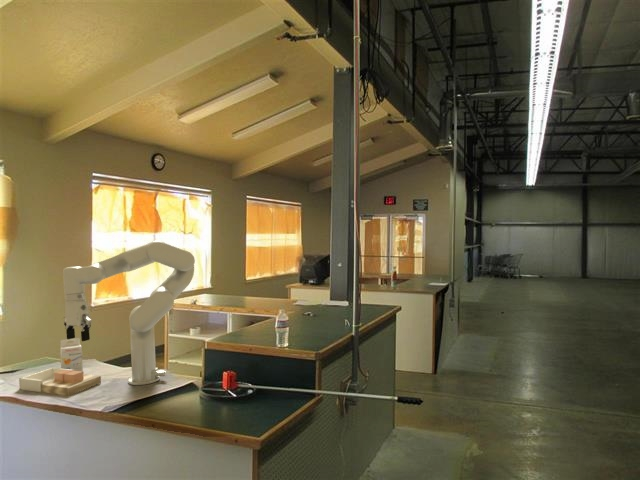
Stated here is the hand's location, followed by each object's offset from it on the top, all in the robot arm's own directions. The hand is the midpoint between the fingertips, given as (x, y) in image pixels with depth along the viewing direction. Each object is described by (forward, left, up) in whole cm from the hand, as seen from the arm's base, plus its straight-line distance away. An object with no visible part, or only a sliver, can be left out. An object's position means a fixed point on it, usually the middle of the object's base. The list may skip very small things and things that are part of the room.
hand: (78, 339), depth 198 cm
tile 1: (+8, -4, -17) cm, 19 cm away
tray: (+17, -8, -20) cm, 27 cm away
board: (+5, -2, -20) cm, 21 cm away
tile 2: (+3, -2, -17) cm, 17 cm away
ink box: (+15, -25, -20) cm, 36 cm away
